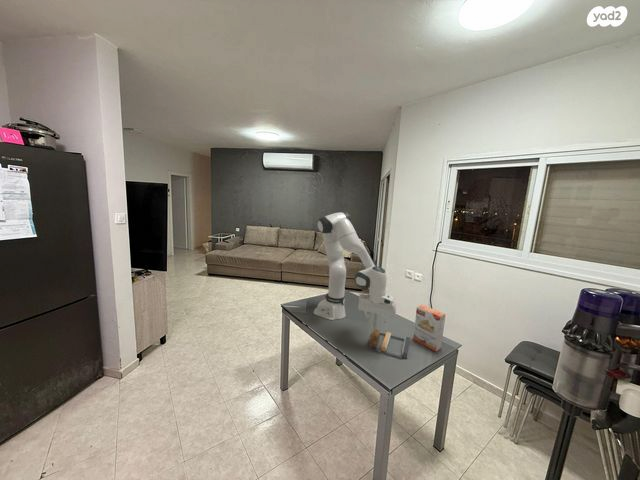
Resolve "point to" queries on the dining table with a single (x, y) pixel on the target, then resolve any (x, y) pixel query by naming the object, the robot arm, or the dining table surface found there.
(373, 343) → the walnut block
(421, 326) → the cracker box
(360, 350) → the dining table surface
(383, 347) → the sliding jaw
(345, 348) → the dining table surface
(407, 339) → the base
